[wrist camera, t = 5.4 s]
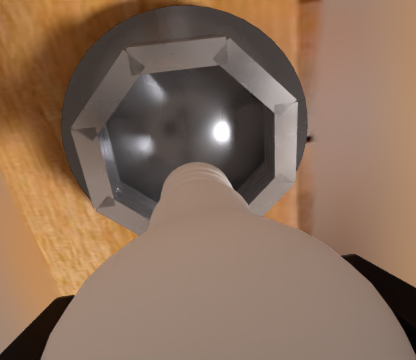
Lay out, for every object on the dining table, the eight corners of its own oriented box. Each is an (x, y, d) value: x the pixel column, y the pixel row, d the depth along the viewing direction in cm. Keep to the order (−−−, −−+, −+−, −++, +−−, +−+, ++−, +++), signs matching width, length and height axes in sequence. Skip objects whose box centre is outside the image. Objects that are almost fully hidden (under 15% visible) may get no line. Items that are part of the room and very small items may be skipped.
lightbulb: (94, 116, 11) (-393, 772, 2) (271, 93, 12) (828, 523, 2) (132, 258, 14) (45, 818, 4) (274, 236, 14) (501, 718, 5)
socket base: (295, 211, 21) (316, 246, 18) (101, 238, 20) (89, 279, 17) (300, -8, 15) (333, -13, 12) (37, 21, 15) (1, 23, 12)
